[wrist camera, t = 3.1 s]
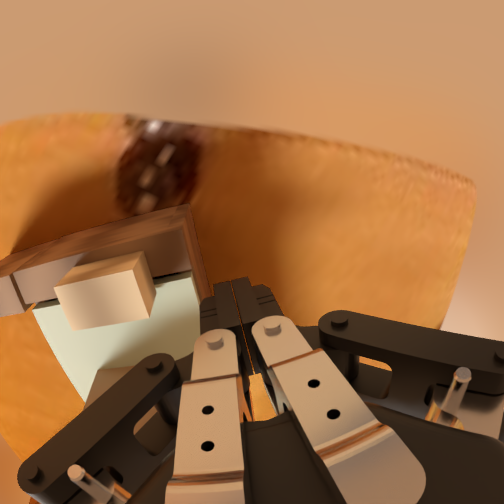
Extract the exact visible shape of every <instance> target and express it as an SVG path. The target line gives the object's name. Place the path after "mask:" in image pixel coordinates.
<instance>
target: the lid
mask: <svg viewBox="0 0 504 504" xmlns="http://www.w3.org/2000/svg"><path fill="white" fill-rule="evenodd" d="M152 280H153V283H154V286H155V289H156V292H157V294H156V297H155V301H154V304H153V307H152V311H151V315H150V318H147V319H142V320H136V321H131V322H125V323H119V324H113V325H107V326H101V327H95V328H89V329H83V330H76V331H73V330H72V328H71V326H70V324H69V322H68V320H67V318H66V316H65V314H64V311H63V309H62V307H61V305H60V302H59V300H58V299H57V300H53V301H48V302H43V303H39V304H37V305H36V306H35V307H34V308H33V309H32V311H33V313H34V315H35V317H36V320H37V322H38V324H39V326H40V328H41V330H42V332H43V334H44V336H45V337H46V339H47V341H48V343H49V345H50V347H51V349H52V350H53V352H54V354H55V356H56V357H57V359H58V361H59V363H60V364H61V366H62V368H63V369H64V371H65V373H66V374H67V376H68V377H69V379H70V381H71V382H72V384H73V385H74V387H75V388H76V390H77V391H78V393H79V394H80V396H81V397H82V399H83V400H84V402H85V406H84V409H83V411H84V410H85V409H86V408H87V407H88V406H89V405H91V404H92V403H93V402H94V401H95V400H96V399H97V398H99V397H100V396H101V395H102V394H103V393H104V392H106V391H107V390H108V389H109V388H110V387H111V386H112V385H114V384H115V383H116V382H117V381H118V380H119V379H120V378H122V377H123V376H124V375H125V374H126V373H127V372H128V371H130V370H131V369H132V368H133V367H134V366H135V365H136V364H138V363H139V362H140V361H141V360H142V359H144V358H145V357H147V356H149V355H152V354H156V353H166V354H169V355H171V356H172V357H173V358H174V360H175V361H176V360H178V359H180V358H183V357H185V356H187V355H189V354H191V353H192V352H193V351H194V345H195V342H196V340H197V339H198V337H200V311H199V305H200V300H199V296H198V293H197V289H196V285H195V282H194V278H193V274H192V271H190V272H185V273H181V274H175V275H171V276H166V277H161V278H157V279H152ZM156 412H157V410H156V408H155V407H154V406H153V407H152V408H151V409H150V410H149V411H148V412H147V413H146V414H145V415H144V416H143V417H142V418H141V419H140V420H139V421H138V422H137V424H136V425H135V427H134V435H135V434H136V433H137V432H138V430H139V429H140V428H141V427H142V426H143V425H144V424H145V423H146V422H147V421H148V420H149V419H150V418H151V417H152V416H153V415H154V414H155V413H156Z"/></svg>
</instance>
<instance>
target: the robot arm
mask: <svg viewBox="0 0 504 504" xmlns="http://www.w3.org/2000/svg"><path fill="white" fill-rule="evenodd" d="M231 282H232V286H233V290H234V294H235V298H236V303H237V307H238V311H239V315H240V319H241V323H242V327H243V330H244V334H245V338H246V342H247V345H248V349H249V353H250V356H251V360H252V364H253V367H254V371H255V374H258V373H261V374H262V378H263V382H264V386H265V389H266V392H267V394H268V396H269V399H270V401H271V403H272V406H273V408H274V410H275V413H276V415H277V416H276V417H274V418H272V419H269V420H266V421H255V418H254V411H253V404H252V396H251V391H250V380H249V376H250V375H254V374H253V370H252V366H251V362H250V359H249V355H248V351H247V347H246V343H245V339H244V335H243V331H242V327H241V323H240V319H239V315H238V311H237V307H236V303H235V300H234V296H233V292H232V288H231V284H230V281H226V282H222V283H218V284H213V285H214V293H215V296H211V297H207V298H204V299H203V300H202V302H201V303H200V305H199V311H200V337H198V339H197V340H196V342H195V345H194V351H193V352H192V353H191V354H189V355H187V356H185V357H183V358H180V359H178V360H176V361H175V360H174V358H173V357H172V356H171V355H169V354H166V353H156V354H152V355H149V356H147V357H145V358H144V359H142V360H141V361H140V362H139V363H138V364H136V365H135V366H134V367H133V368H132V369H131V370H130V371H128V372H127V373H126V374H125V375H124V376H123V377H122V378H120V379H119V380H118V381H117V382H116V383H115V384H114V385H112V386H111V387H110V388H109V389H108V390H107V391H106V392H104V393H103V394H102V395H101V396H100V397H99V398H97V399H96V400H95V401H94V402H93V403H92V404H91V405H89V406H88V407H87V408H86V409H85V410H84V411H82V412H81V413H80V414H79V415H78V416H77V417H76V418H74V419H73V420H72V421H71V422H70V423H69V424H67V425H66V426H65V427H64V428H63V429H62V430H60V431H59V432H58V433H57V434H56V435H55V436H53V437H52V438H51V439H50V440H49V441H48V442H46V443H45V444H44V445H43V446H42V447H41V448H39V449H38V450H37V451H36V452H35V453H34V454H32V455H31V456H30V457H29V458H28V459H27V460H25V461H24V462H23V463H22V465H21V466H20V468H19V471H18V475H17V477H18V478H17V480H18V484H19V486H20V488H21V489H22V490H23V491H25V492H26V493H27V494H28V495H30V496H31V497H32V498H34V499H35V500H37V501H38V502H39V503H40V504H504V342H502V341H496V340H491V339H485V338H479V337H474V336H468V335H463V334H457V333H452V332H447V331H441V330H436V329H431V328H426V327H421V326H416V325H411V324H406V323H402V322H397V321H392V320H387V319H383V318H378V317H374V316H369V315H364V314H360V313H356V312H351V311H346V310H337V311H332V312H329V313H327V314H325V315H323V316H322V317H321V318H320V320H319V322H318V326H310V327H301V326H296V325H294V323H293V322H292V321H291V320H290V319H289V318H287V317H284V315H283V313H282V311H281V309H280V307H279V305H278V303H277V301H276V299H275V297H274V296H273V294H272V292H271V290H270V288H268V287H266V286H265V285H263V284H261V285H257V286H253V287H252V286H251V284H250V281H249V279H248V276H247V277H243V278H239V279H235V280H231ZM359 356H362V357H366V358H369V359H373V360H377V361H380V362H384V363H386V364H388V365H389V366H390V367H391V369H392V371H388V370H384V369H381V368H377V367H374V366H370V365H367V364H363V363H360V362H359ZM153 406H154V407H155V408H156V410H157V412H156V413H155V414H154V415H153V416H152V417H151V418H150V419H149V420H148V421H147V422H146V423H145V424H144V425H143V426H142V427H141V428H140V429H139V430H138V432H137V433H136V434H135V435H134V427H135V425H136V424H137V422H138V421H139V420H140V419H141V418H142V417H143V416H144V415H145V414H146V413H147V412H148V411H149V410H150V409H151V408H152V407H153Z"/></svg>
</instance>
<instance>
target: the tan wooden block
mask: <svg viewBox="0 0 504 504" xmlns="http://www.w3.org/2000/svg"><path fill="white" fill-rule="evenodd" d="M53 288H54V290H55V293H56V295H57V298H58V300H59V302H60V305H61V307H62V309H63V311H64V314H65V316H66V318H67V320H68V322H69V324H70V326H71V328H72V330H73V331H76V330H83V329H89V328H95V327H101V326H107V325H113V324H119V323H125V322H131V321H136V320H142V319H147V318H150V315H151V311H152V307H153V304H154V301H155V297H156V294H157V292H156V289H155V286H154V283H153V280H152V277H151V273H150V270H149V267H148V264H147V260H146V257H145V254H144V250H143V251H138V252H134V253H130V254H126V255H121V256H117V257H113V258H109V259H105V260H101V261H97V262H93V263H89V264H84V265H80V266H76V267H73V268H72V269H71V270H70V271H69V272H68V273H67V274H66V275H65V276H64V277H63V278H62V279H61V280H60V281H59V282H58V283H57V284H56V285H55V286H54V287H53Z"/></svg>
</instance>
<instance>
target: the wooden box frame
mask: <svg viewBox="0 0 504 504" xmlns="http://www.w3.org/2000/svg"><path fill="white" fill-rule="evenodd" d="M143 250H144V254H145V257H146V260H147V264H148V267H149V270H150V273H151V277H157V276H162V275H166V274H171V273H176V272H179V273H180V274H181V273H185V272H190V271H192V274H193V278H194V282H195V285H196V289H197V293H198V296H199V300H200V303H201V302H202V300H203V299H204V298H207V297H211V296H212V295H211V291H210V288H209V284H208V280H207V276H206V272H205V268H204V264H203V260H202V256H201V252H200V247H199V243H198V239H197V235H196V230H195V226H194V222H193V217H192V213H191V208H190V204H189V203H187V204H183V205H179V206H174V207H170V208H166V209H162V210H158V211H154V212H150V213H146V214H142V215H138V216H134V217H130V218H126V219H122V220H119V221H115V222H111V223H107V224H104V225H100V226H97V227H93V228H90V229H86V230H83V231H79V232H76V233H72V234H69V235H66V236H63V237H61V238H60V239H56V240H53V241H50V242H47V243H43V244H40V245H37V246H34V247H31V248H28V249H25V250H22V251H19V252H16V253H13V254H10V255H8V256H7V257H5V258H4V259H2V260H1V261H0V317H3V316H8V315H14V314H19V313H24V312H26V310H27V309H28V308H29V307H30V306H31V305H32V304H33V303H36V305H37V304H39V303H43V302H48V301H53V300H57V299H58V298H57V295H56V293H55V290H54V288H53V287H54V286H55V285H56V284H57V283H58V282H59V281H60V280H61V279H62V278H63V277H64V276H65V275H66V274H67V273H68V272H69V271H70V270H71V269H72V268H73V267H76V266H80V265H84V264H89V263H93V262H97V261H101V260H105V259H109V258H113V257H117V256H121V255H126V254H130V253H134V252H138V251H143Z"/></svg>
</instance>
